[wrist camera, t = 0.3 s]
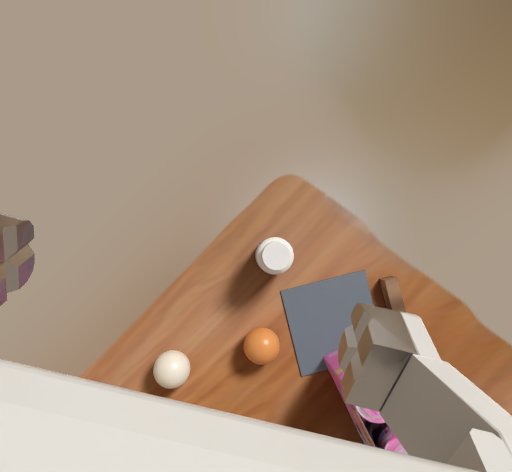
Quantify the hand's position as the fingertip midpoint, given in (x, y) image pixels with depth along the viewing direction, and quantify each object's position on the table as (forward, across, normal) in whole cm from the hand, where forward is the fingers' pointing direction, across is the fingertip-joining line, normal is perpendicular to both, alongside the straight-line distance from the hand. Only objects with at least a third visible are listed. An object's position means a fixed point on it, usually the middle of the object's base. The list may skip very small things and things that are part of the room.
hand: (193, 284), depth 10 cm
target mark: (+43, +18, -31) cm, 57 cm away
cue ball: (+35, -5, -41) cm, 54 cm away
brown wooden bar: (+46, +27, -27) cm, 60 cm away
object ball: (+38, +8, -35) cm, 52 cm away
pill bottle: (+47, +6, -24) cm, 54 cm away
